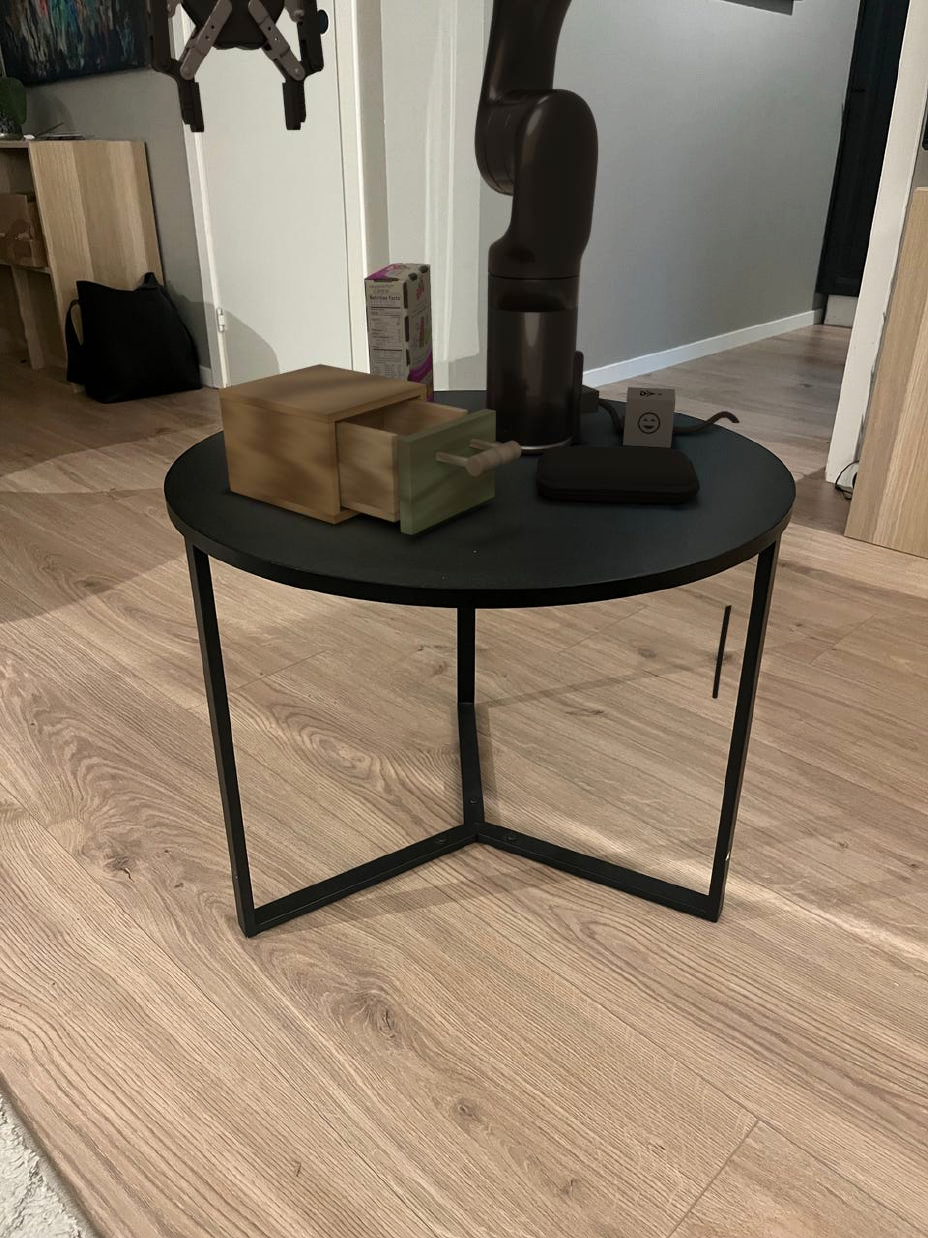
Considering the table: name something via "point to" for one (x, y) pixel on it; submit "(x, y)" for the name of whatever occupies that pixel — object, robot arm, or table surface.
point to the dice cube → (649, 417)
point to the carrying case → (616, 474)
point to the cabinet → (299, 433)
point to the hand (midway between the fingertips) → (246, 131)
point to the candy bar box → (401, 324)
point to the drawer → (418, 461)
